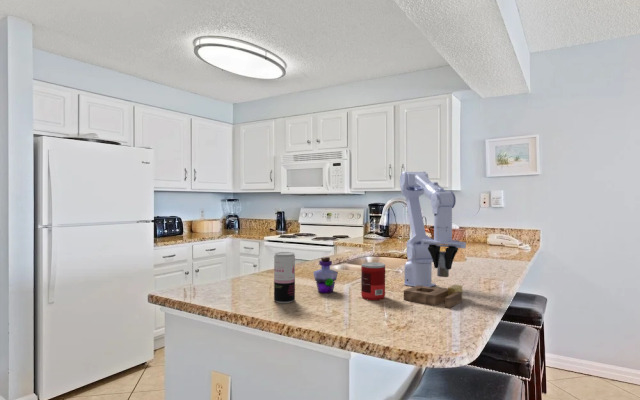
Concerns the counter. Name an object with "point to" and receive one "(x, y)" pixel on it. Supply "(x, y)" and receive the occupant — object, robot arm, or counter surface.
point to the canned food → (373, 281)
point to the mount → (432, 296)
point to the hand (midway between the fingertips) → (442, 268)
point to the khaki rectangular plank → (454, 289)
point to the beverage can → (284, 277)
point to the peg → (442, 265)
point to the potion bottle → (325, 276)
